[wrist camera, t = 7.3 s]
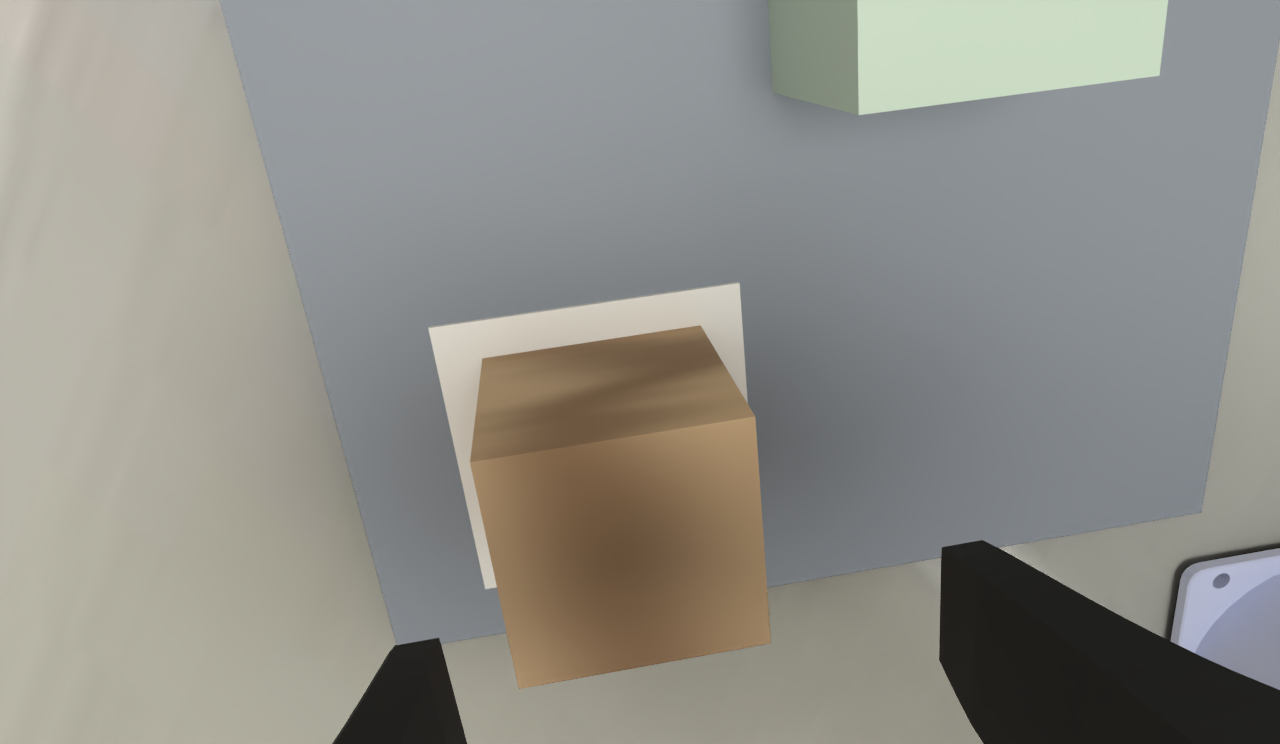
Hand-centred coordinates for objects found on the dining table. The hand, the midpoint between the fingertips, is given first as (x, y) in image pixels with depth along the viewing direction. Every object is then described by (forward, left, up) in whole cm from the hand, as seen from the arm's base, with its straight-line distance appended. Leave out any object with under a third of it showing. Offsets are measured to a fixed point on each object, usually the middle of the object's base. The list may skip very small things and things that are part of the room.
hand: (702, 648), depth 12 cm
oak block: (+1, +1, -9) cm, 9 cm away
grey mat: (-4, -3, -9) cm, 11 cm away
